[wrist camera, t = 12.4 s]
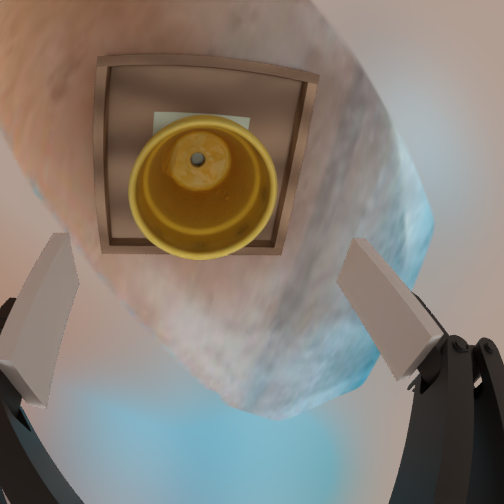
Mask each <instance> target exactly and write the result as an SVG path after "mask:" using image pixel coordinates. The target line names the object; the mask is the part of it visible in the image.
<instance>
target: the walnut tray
mask: <svg viewBox="0 0 504 504" xmlns="http://www.w3.org/2000/svg"><path fill="white" fill-rule="evenodd" d="M319 76H320V75H317V74H313V73H309V72H305V71H301V70H296V69H292V68H287V67H282V66H277V65H271V64H266V63H260V62H253V61H247V60H239V59H231V58H222V57H212V56H200V55H182V54H130V55H113V56H100V57H98V60H97V70H96V81H95V95H94V118H93V159H94V182H95V197H96V209H97V219H98V228H99V237H100V244H101V251H102V254H169V253H167V252H165V251H163V250H162V249H160V248H158V247H157V246H156V245H154V244H153V243H152V242H151V241H149V240H148V239H147V238H146V237H145V235H144V234H143V233H142V232H141V230H140V229H139V227H138V226H137V224H136V222H135V220H134V218H133V215H132V212H131V209H130V204H129V198H128V187H129V178H130V174H131V171H132V168H133V166H134V163H135V161H136V159H137V157H138V155H139V154H140V152H141V150H142V149H143V148H144V146H145V145H146V144H147V142H148V141H149V140H150V139H151V138H152V137H153V136H154V135H155V134H156V133H157V132H158V131H160V130H161V129H162V128H164V127H165V126H167V125H168V124H170V123H172V122H174V121H176V120H179V119H181V118H185V117H188V116H194V115H215V116H220V117H224V118H227V119H230V120H232V121H234V122H236V123H238V124H240V125H241V126H243V127H244V128H246V129H247V130H249V131H250V132H251V133H252V134H253V135H254V136H255V137H256V138H257V139H258V140H259V141H260V142H261V143H262V144H263V145H264V147H265V148H266V150H267V151H268V153H269V155H270V157H271V159H272V161H273V164H274V167H275V171H276V176H277V198H276V203H275V207H274V210H273V213H272V215H271V217H270V219H269V221H268V223H267V224H266V226H265V227H264V229H263V230H262V231H261V232H260V233H259V235H258V236H257V237H256V238H255V239H254V240H252V241H251V242H250V243H249V244H247V245H246V246H244V247H243V248H241V249H239V250H238V251H236V252H234V253H231V254H229V255H281V254H282V250H283V246H284V241H285V237H286V233H287V228H288V224H289V220H290V215H291V211H292V207H293V202H294V198H295V193H296V189H297V184H298V179H299V175H300V170H301V166H302V161H303V156H304V151H305V147H306V142H307V137H308V132H309V127H310V122H311V117H312V112H313V107H314V102H315V97H316V92H317V86H318V81H319ZM191 161H192V163H193V164H194V165H201V164H202V163H203V161H204V156H203V155H202V154H200V153H195V154H193V156H192V158H191Z"/></svg>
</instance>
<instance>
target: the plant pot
mask: <svg viewBox="0 0 504 504" xmlns="http://www.w3.org/2000/svg"><path fill="white" fill-rule="evenodd" d="M195 153H200V154H202V155H203V156H204V161H203V163H202V164H201V165H194V164H193V163H192V161H191V158H192V156H193V154H195ZM128 198H129V204H130V209H131V212H132V215H133V218H134V220H135V222H136V224H137V226H138V227H139V229H140V230H141V232H142V233H143V234H144V235H145V237H146V238H147V239H148V240H149V241H151V242H152V243H153V244H154V245H156V246H157V247H158V248H160V249H162V250H163V251H165V252H167V253H169V254H172V255H175V256H178V257H181V258H186V259H192V260H208V259H215V258H219V257H223V256H226V255H229V254H231V253H234V252H236V251H238V250H239V249H241V248H243V247H244V246H246V245H247V244H249V243H250V242H251V241H252V240H254V239H255V238H256V237H257V236H258V235H259V233H260V232H261V231H262V230H263V229H264V227H265V226H266V224H267V223H268V221H269V219H270V217H271V215H272V213H273V210H274V207H275V203H276V198H277V176H276V171H275V167H274V164H273V161H272V159H271V157H270V155H269V153H268V151H267V150H266V148H265V147H264V145H263V144H262V143H261V142H260V141H259V140H258V139H257V138H256V137H255V136H254V135H253V134H252V133H251V132H250V131H249V130H247V129H246V128H244V127H243V126H241V125H240V124H238V123H236V122H234V121H232V120H230V119H227V118H224V117H220V116H215V115H194V116H188V117H185V118H181V119H179V120H176V121H174V122H172V123H170V124H168V125H167V126H165V127H164V128H162V129H161V130H160V131H158V132H157V133H156V134H155V135H154V136H153V137H152V138H151V139H150V140H149V141H148V142H147V144H146V145H145V146H144V148H143V149H142V150H141V152H140V154H139V155H138V157H137V159H136V161H135V163H134V166H133V168H132V171H131V174H130V178H129V187H128Z"/></svg>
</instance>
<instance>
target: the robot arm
mask: <svg viewBox="0 0 504 504" xmlns="http://www.w3.org/2000/svg"><path fill="white" fill-rule="evenodd" d="M337 283H338V285H339V286H340V288H341V290H342V291H343V293H344V294H345V296H346V297H347V299H348V301H349V302H350V304H351V305H352V307H353V308H354V310H355V312H356V313H357V315H358V317H359V318H360V320H361V321H362V323H363V325H364V326H365V328H366V330H367V331H368V333H369V335H370V336H371V338H372V340H373V341H374V343H375V345H376V346H377V348H378V350H379V351H380V353H381V355H382V356H383V358H384V360H385V362H386V363H387V365H388V367H389V368H390V370H391V372H392V374H393V375H394V377H395V379H396V381H400V380H403V379H406V378H409V377H410V376H411V375H412V374H413V372H414V371H415V370H416V369H418V371H419V372H420V374H419V375H418V376H417V377H416V378H415V379H414V380H413V381H412V383H411V384H410V385H409V386H408V389H407V390H410V389H411V388H412V386H413V385H415V388H414V389H413V390H412V391H413V392H414V398H413V405H412V411H411V417H410V423H409V428H408V433H407V438H406V443H405V447H404V451H403V455H402V460H401V464H400V467H399V471H398V475H397V478H396V482H395V485H394V488H393V492H392V495H391V498H390V501H389V504H504V364H503V361H502V359H501V356H500V353H499V351H498V349H497V347H496V345H495V344H494V342H493V341H492V340H490V339H488V338H481V339H480V340H479V341H478V343H477V344H476V345H468V344H467V342H466V341H465V340H464V339H462V338H461V337H459V336H457V335H450V336H449V335H448V333H447V332H446V331H445V330H444V328H443V327H442V326H441V324H440V323H439V322H438V321H437V319H436V318H435V316H434V315H433V314H431V311H430V310H429V309H428V308H427V307H426V305H425V304H424V303H423V301H422V300H421V299H420V298H419V297H418V296H417V295H415V294H414V293H413V292H412V291H410V290H409V288H408V287H407V286H406V285H405V284H404V282H403V281H402V280H401V279H400V278H399V277H398V275H397V274H396V273H395V272H394V271H393V270H392V268H391V267H390V266H389V265H388V264H387V263H386V261H385V260H384V259H383V258H382V257H381V256H380V255H379V254H378V252H377V251H376V250H375V249H374V248H373V247H372V246H371V245H370V244H369V242H368V241H367V240H366V239H362V238H353V239H352V242H351V245H350V248H349V250H348V253H347V256H346V259H345V261H344V264H343V267H342V269H341V272H340V274H339V277H338V279H337ZM78 286H79V279H78V275H77V271H76V267H75V262H74V257H73V253H72V248H71V243H70V237H69V233H53V235H52V236H51V238H50V240H49V241H48V243H47V244H46V246H45V248H44V249H43V251H42V253H41V255H40V256H39V258H38V260H37V261H36V263H35V265H34V267H33V268H32V270H31V272H30V274H29V276H28V278H27V279H26V281H25V283H24V285H23V287H22V289H21V291H20V293H19V295H18V297H17V298H9V299H8V300H7V301H6V302H5V303H4V304H3V305H2V306H1V308H0V504H7V502H6V499H5V497H4V494H3V491H4V493H5V495H6V496H7V498H8V500H9V501H10V503H11V504H84V503H83V501H82V500H81V499H80V498H79V496H78V495H77V494H76V493H75V491H74V490H73V489H72V487H71V486H70V485H69V483H68V482H67V481H66V479H65V478H64V477H63V475H62V474H61V472H60V471H59V469H58V468H57V466H56V465H55V464H54V462H53V460H52V459H51V458H50V456H49V454H48V453H47V451H46V449H45V448H44V446H43V445H42V443H41V441H40V440H39V438H38V436H37V434H36V433H35V431H34V429H33V427H32V425H31V423H30V422H29V420H28V418H27V416H26V414H25V412H24V410H23V409H22V407H21V406H20V404H21V399H22V398H23V399H24V400H25V401H26V402H27V404H28V405H30V406H34V407H40V408H45V409H47V404H48V399H49V393H50V388H51V383H52V378H53V374H54V369H55V364H56V360H57V356H58V352H59V348H60V344H61V341H62V337H63V334H64V330H65V327H66V323H67V320H68V316H69V313H70V310H71V307H72V304H73V301H74V298H75V295H76V292H77V289H78ZM480 377H481V378H482V383H481V384H480V385H479V386H478V387H477V388H475V387H474V383H475V382H476V381H477V379H479V378H480ZM1 487H2V488H1ZM2 489H3V491H2Z"/></svg>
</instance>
